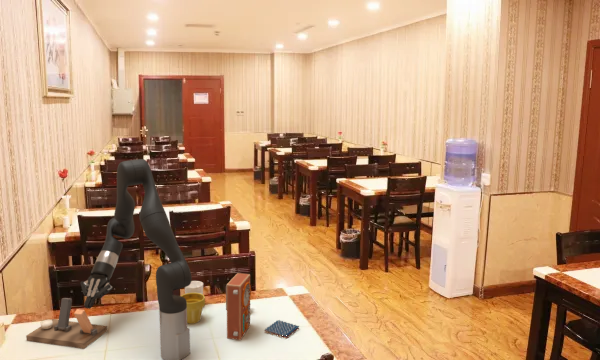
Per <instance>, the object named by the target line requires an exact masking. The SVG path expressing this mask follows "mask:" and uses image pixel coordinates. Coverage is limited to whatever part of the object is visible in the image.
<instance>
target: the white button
mask: <svg viewBox="0 0 600 360" xmlns="http://www.w3.org/2000/svg"><path fill="white" fill-rule="evenodd" d="M40 327H41V329H49V328H51V327H53V322H52V319H45V320H42V321H41V322H40Z"/></svg>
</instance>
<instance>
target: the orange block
mask: <svg viewBox="0 0 600 360" xmlns="http://www.w3.org/2000/svg"><path fill="white" fill-rule="evenodd" d="M73 315H74V316H75V318H76V320H77V322H79V324H80V326H81V328H82V330H83V332H84V333H89V334H91V331H92V330H94V329H93V326H92V324H93V323H91V320H90V319H89V316H88V315H87V313H86V311H85V309H80V308H76V310H75V311H74V312H73Z"/></svg>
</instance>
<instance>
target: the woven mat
mask: <svg viewBox="0 0 600 360" xmlns="http://www.w3.org/2000/svg"><path fill="white" fill-rule="evenodd" d="M299 327H300V325H297V324H294V323H291V322H287V321H284V320H280V319H279V320H276V321H275V322H274V321H273V323H272V324H270V325H269V326H267V327H266V328H265V329H264V330H263V331H264V333H265V332H266V334H267V333H268V334H270V333H271V334H270V335H272V336H274V335H276V336H277V335H278V338H282V337H283V339H284V338H286V339H288V338H289V337H290V336H291V335H293V334H294V333H295V332H296V331H298V330H299V329H300V328H299ZM297 329H298V330H297ZM292 333H293V334H292ZM273 334H274V335H273ZM282 335H283V336H282ZM286 335H287V336H286ZM280 336H282V337H280ZM288 336H289V337H288Z"/></svg>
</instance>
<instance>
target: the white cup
mask: <svg viewBox="0 0 600 360" xmlns="http://www.w3.org/2000/svg"><path fill="white" fill-rule="evenodd" d="M186 293H200V294H203V295H204V282H202V281H200V280H191V283H190V285H189V286H187V287H184V294H186Z"/></svg>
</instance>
